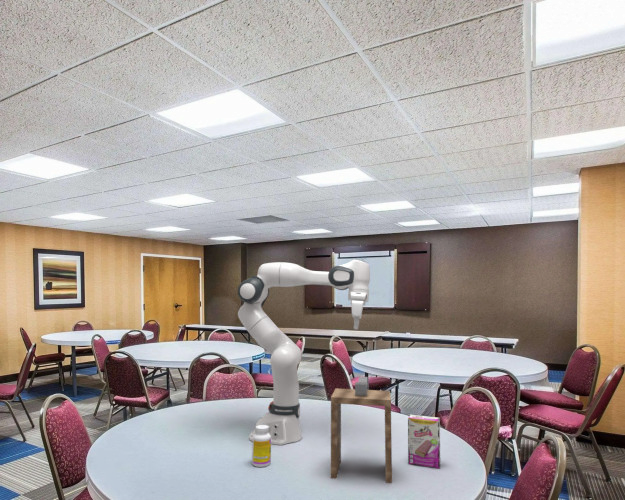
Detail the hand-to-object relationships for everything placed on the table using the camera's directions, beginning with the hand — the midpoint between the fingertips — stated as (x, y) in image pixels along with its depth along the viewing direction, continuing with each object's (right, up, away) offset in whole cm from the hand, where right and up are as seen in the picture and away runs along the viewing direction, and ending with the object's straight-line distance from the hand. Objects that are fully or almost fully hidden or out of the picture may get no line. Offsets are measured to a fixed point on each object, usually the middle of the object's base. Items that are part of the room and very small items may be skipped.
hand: (356, 329), depth 175 cm
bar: (0, -18, -25) cm, 31 cm away
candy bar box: (+22, -44, -27) cm, 56 cm away
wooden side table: (-2, -43, -34) cm, 55 cm away
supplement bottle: (-37, -43, -28) cm, 64 cm away
